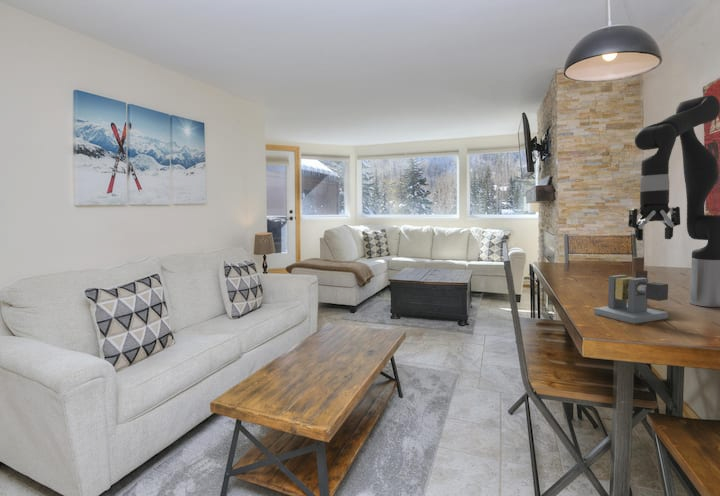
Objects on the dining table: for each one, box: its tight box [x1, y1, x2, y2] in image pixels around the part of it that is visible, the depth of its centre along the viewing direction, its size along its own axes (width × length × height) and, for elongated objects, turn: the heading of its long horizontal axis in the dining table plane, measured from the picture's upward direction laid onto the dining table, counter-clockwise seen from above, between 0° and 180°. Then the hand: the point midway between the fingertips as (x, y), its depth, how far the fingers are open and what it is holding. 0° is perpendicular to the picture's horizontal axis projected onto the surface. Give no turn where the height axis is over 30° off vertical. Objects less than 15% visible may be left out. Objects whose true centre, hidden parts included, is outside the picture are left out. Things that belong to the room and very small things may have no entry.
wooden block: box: [631, 256, 649, 294], centre depth 147 cm, size 4×11×18 cm, turn 153°
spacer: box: [615, 276, 637, 300], centre depth 135 cm, size 7×2×7 cm, turn 110°
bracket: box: [593, 274, 669, 325], centre depth 134 cm, size 16×14×13 cm
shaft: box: [626, 281, 669, 302], centre depth 132 cm, size 4×17×5 cm, turn 20°
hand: (653, 239), depth 128 cm, fingers open, 8 cm apart
